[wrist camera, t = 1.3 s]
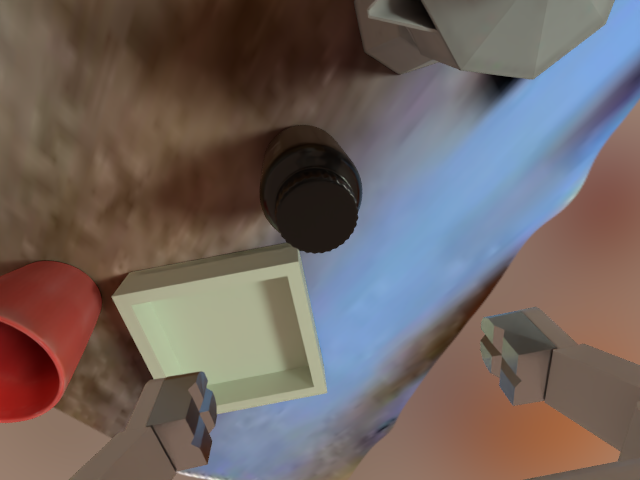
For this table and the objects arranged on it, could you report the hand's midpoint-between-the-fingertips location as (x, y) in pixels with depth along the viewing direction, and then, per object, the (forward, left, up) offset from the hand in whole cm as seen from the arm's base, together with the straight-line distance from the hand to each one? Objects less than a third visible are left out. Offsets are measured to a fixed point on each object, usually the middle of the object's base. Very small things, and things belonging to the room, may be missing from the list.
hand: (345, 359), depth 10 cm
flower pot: (+8, -25, -23) cm, 35 cm away
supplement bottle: (0, 0, -23) cm, 23 cm away
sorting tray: (+15, -10, -23) cm, 29 cm away
